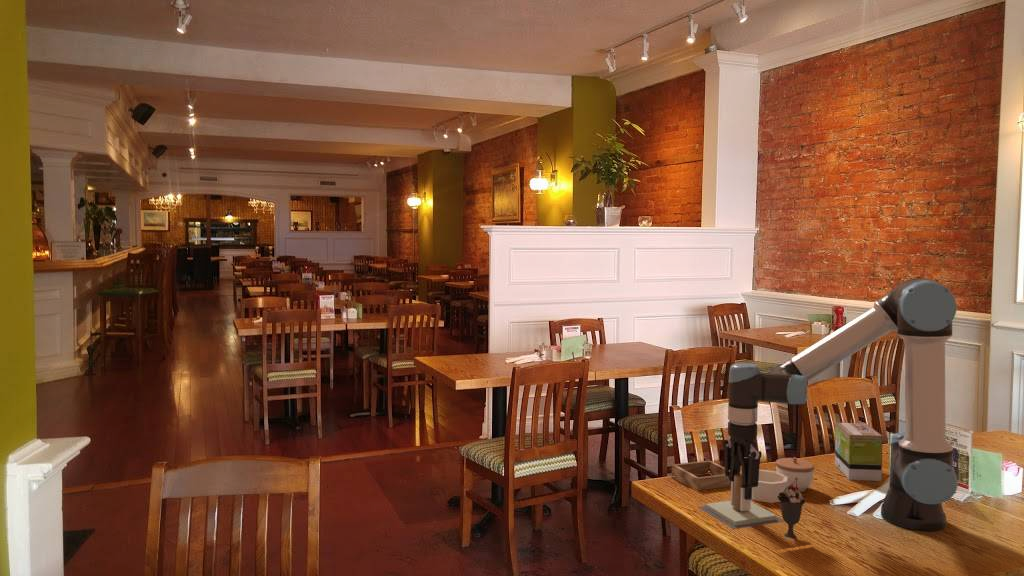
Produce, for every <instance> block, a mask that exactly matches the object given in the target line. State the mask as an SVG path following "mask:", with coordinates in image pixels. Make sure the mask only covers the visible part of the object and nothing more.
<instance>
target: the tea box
mask: <svg viewBox="0 0 1024 576" xmlns="http://www.w3.org/2000/svg"><path fill="white" fill-rule="evenodd" d="M883 437H884V436H883V435H882V434H881V433H880V432H878V431H877V430H875V429H874V428H873V427H872V426H870V425H869V424H868V423H865V422H864V423H862V422H861V423H859V422H857V423H856V422H835V437H834V439H835V446H834V450H835V451H834V465H835V466H836V467H837V469H839V471H840V472H841V473H842V474H843V475H844V476H845V477H846V478H847V480H849V481H861V480H862V481H865V482H866V481H867V482H881V481H882V476H883V475H882V474H883V468H882V467H883V447H884V446H883V443H884V441H883Z"/></svg>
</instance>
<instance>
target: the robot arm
mask: <svg viewBox="0 0 1024 576" xmlns="http://www.w3.org/2000/svg"><path fill="white" fill-rule="evenodd" d="M957 307H958V305H957V300H956V298H955V296H954V294H953V293H952V291H951V290H950V289H949V288H948V287H947V286H945V284H942V283H941V282H939V281H936V280H933V279H927V278H923V277H922V278H920V277H919V278H918V277H916V278H910V279H907V280H905V281H903V282H900V283H899V284H898V285H897V286H895V287H894V288H893V289H891V290H890V291H889V292H887V293H886V294H884V295H883V296H881V297H880V298H878V299H877V300H875V301H874V304H873V307H871V308H870V309H868V310H867V311H865V312H864V313H862V314H861V315H859V316H857V317H855V318H854V319H852V320H851V321H849V322H847V323H846V324H844V325H843V326H841V327H839V328H838V329H836V330H835V331H833V332H831V333H830V334H828V335H827V336H825V337H823V338H821V339H820V340H818V341H817V342H815V343H814V344H812V345H810V346H808V347H807V348H806V349H804V350H802V351H801V352H799V353H797V354H796V355H794V356H792V357H791V358H790V359H788V360H787V361H785V362H783V363H779V364H777V365H774V366H773V367H772V368H771V369H770V371H769V373H768V372H767V373H766V372H760V369H759V368H760V367H759V365H757V364H754V363H745V362H740V363H739V362H738V363H734V364H732V365H731V366H730V368H729V374H728V375H729V376H728V403H727V404H728V405H727V407H728V408H727V419H728V422H727V435H728V436H729V437H730V438H729V439H723V441H722V444H723V448H724V467H725V475H726V476H728V477H729V480H730V486H729V490H730V500H729V501H730V505H732V506H733V502H734V475H735V474H742V478H743V485H741V500H740V511H749V510H751V502H752V499H751V498H752V487H758V479H759V469H760V461H761V458H762V455H763V454H762V453H763V452H762V451H761V450H757V449H756V447H755V442H754V441H755V439H756V438H757V437H758V424H757V422H758V409H759V408H758V407H759V402H763V403H767V402H768V403H775V404H776V403H778V404H789V405H791V406H792V405H804V404H806V403H807V400H808V382H809V381H811V380H812V379H814V378H816V377H817V376H819V375H820V374H822V373H824V372H826V371H827V370H829V369H830V368H833V367H834V366H836V365H837V364H839V363H840V362H843V361H844V360H845V359H847V358H849V357H851V356H852V355H855V353H857V352H859V351H861V350H862V349H864V348H866V347H868V346H869V345H871V344H873V343H874V342H876V341H877V340H879V339H881V338H883V337H884V336H886V335H888V334H889V333H890V332H896V333H897V336H899V338H901V339H902V340H903V342H904V399H905V401H904V404H905V405H904V406H905V407H904V408H905V409H904V410H905V411H904V413H905V414H904V415H905V417H904V418H905V419H904V420H905V423H904V424H905V432H896V433H894V434H892V436H891V440H890V444H889V445H890V459H889V461H890V462H889V463H890V464H889V484H888V485H889V486H888V487H889V488H888V490H887V492H886V494H885V496H884V500H883V502H882V504H881V507H880V516H881V518H882V519H884V520H885V521H887V522H888V523H890V524H893V525H896V526H898V527H901V528H904V529H905V528H906V529H909V530H910V529H911V530H915V531H916V530H917V531H923V532H924V531H925V532H926V531H928V532H932V531H940V530H943V529H945V528H946V525H947V517H946V514H945V512H944V509H943V503H944V502H947V501H948V500H950V499H951V498H953V496H954V495H955V494H956V492H957V490H958V485H959V483H958V477H957V476H958V475H957V473H956V471H955V470H954V447H953V446H952V445H951V444H950V443H949V442H948V440H947V439H946V437H947V436H946V433H947V432H946V342H947V341H948V340H949V339H951V338H952V337H953V321H954V319H955V317H956V314H957V310H958V309H957ZM729 470H730V471H729ZM747 482H748V483H747Z"/></svg>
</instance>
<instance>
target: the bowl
mask: <svg viewBox="0 0 1024 576" xmlns="http://www.w3.org/2000/svg"><path fill="white" fill-rule="evenodd" d="M787 487H788V477H787V476H785V475H783V474H780V473H778V472H776V470H775V471H774V470H767V469H760V468H759V479H758V487H752V498H751V501H758V502H764V503H769V504H773V503H781V502H780V500H779V499H778V496H779V493H781V492H783V491H784V490H785V488H787Z"/></svg>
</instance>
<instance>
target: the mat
mask: <svg viewBox="0 0 1024 576" xmlns="http://www.w3.org/2000/svg"><path fill="white" fill-rule="evenodd" d="M697 508H699V509H700V510H702V511H703V512H705V513H707V514H709V516H711V517H713V518H715V520H716V519H717V520H718V521H719V522H721V523H723V524H724V525H726V526H728V527H729V528H731V529H733V530H737V529H744V528H751V527H757V526H763V525H764V526H765V525H769V524H776V523H783V522H785V521H784V520H783V518H780V517H778V516H776V520H771V521H765V522H758V523H752V524H745V525H738V526H734V525H732V524H731V523H729V522H727V521H726V520H724V519H722V518H721V517H719V516H718V515H716V514H714V513H713V512H711V511H709V510H708V509H706V505H704V506H703V505H701V506H698V507H697Z"/></svg>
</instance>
